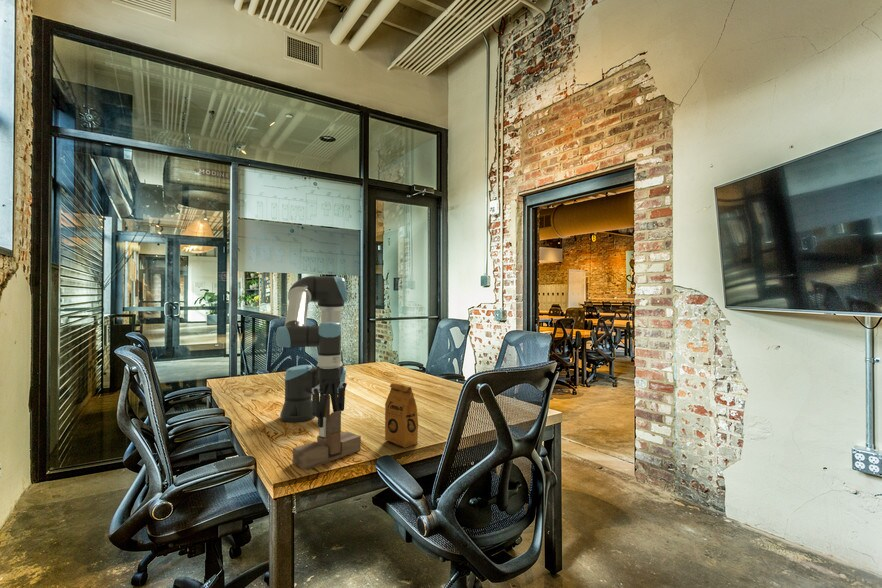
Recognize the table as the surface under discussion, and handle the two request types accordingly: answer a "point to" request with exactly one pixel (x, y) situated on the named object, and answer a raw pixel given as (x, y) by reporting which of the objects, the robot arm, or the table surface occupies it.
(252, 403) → the table surface
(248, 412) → the table surface
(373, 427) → the table surface
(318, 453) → the slotted sill
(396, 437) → the coffee package
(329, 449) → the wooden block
